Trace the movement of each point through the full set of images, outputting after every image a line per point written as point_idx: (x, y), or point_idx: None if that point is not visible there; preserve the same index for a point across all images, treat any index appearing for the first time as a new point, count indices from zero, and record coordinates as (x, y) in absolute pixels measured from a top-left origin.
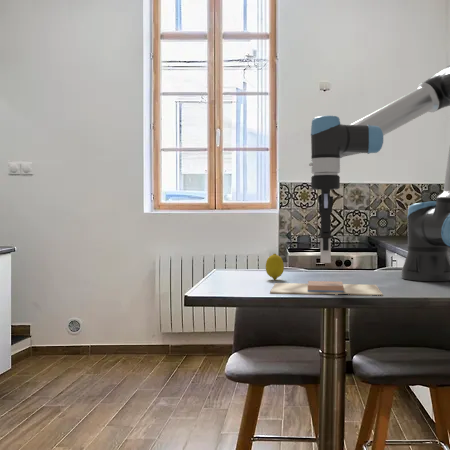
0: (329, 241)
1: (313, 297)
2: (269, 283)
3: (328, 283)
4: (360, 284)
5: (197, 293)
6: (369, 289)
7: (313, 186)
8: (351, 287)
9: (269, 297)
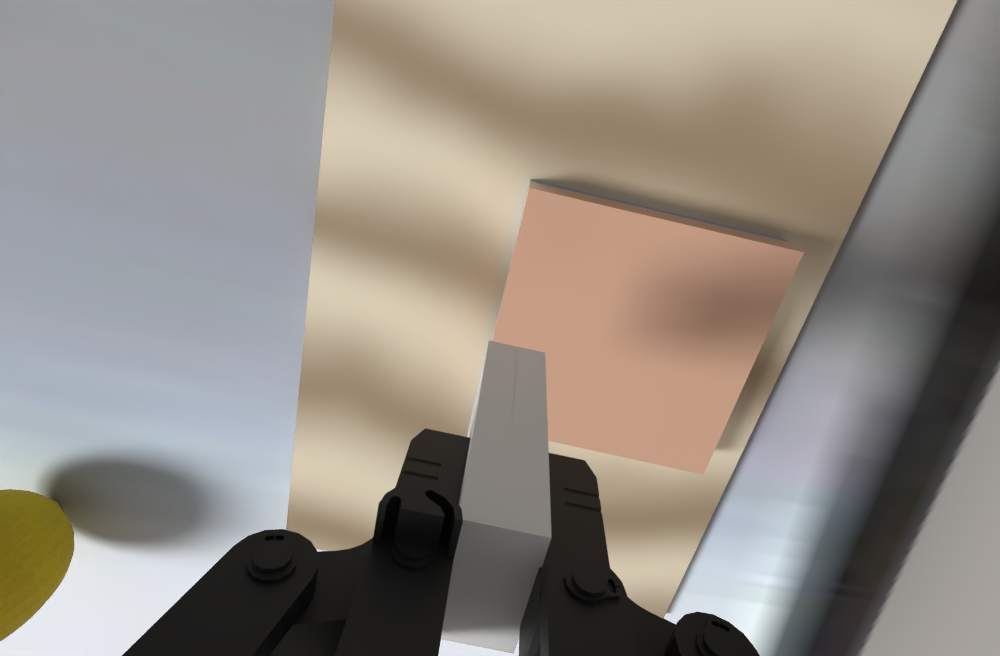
0: (546, 520)
1: (865, 447)
2: None
3: (632, 324)
4: None
5: None
6: None
7: None
8: (536, 100)
9: (790, 633)
